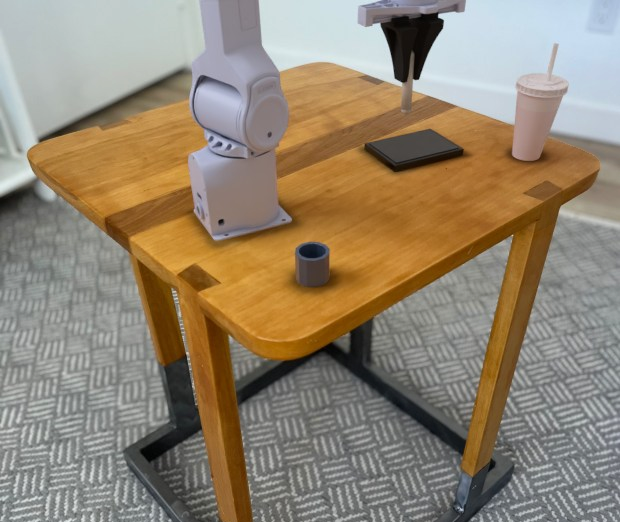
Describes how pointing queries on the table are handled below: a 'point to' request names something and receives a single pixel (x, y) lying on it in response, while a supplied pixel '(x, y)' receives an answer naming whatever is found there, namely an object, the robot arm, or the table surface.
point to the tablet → (413, 149)
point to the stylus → (408, 89)
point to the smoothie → (536, 110)
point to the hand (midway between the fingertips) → (406, 79)
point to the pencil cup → (312, 264)
